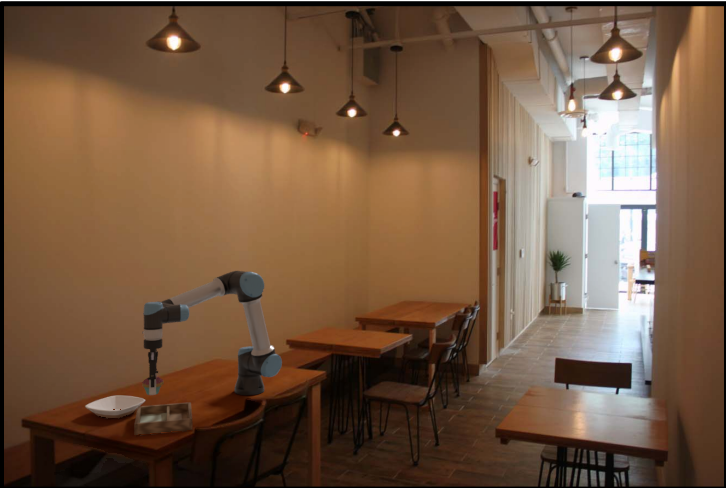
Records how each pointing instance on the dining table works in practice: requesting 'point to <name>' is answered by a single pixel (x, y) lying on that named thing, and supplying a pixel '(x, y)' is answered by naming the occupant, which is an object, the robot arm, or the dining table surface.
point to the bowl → (115, 406)
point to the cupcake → (158, 384)
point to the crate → (163, 418)
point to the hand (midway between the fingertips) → (153, 391)
